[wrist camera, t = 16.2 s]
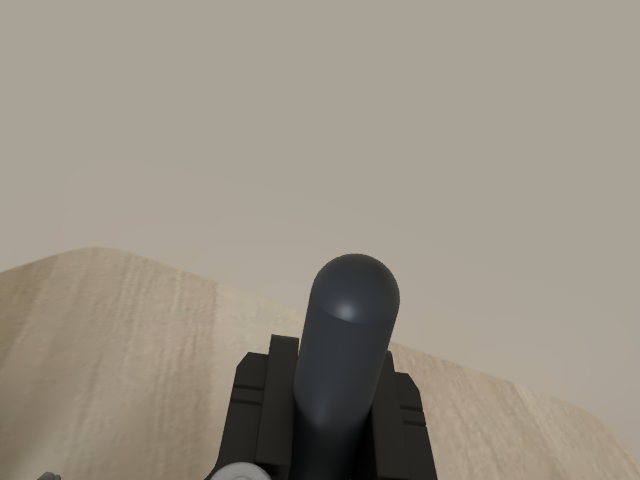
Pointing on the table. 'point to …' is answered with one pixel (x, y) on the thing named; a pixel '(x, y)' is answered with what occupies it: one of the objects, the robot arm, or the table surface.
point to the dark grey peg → (340, 364)
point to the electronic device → (49, 476)
